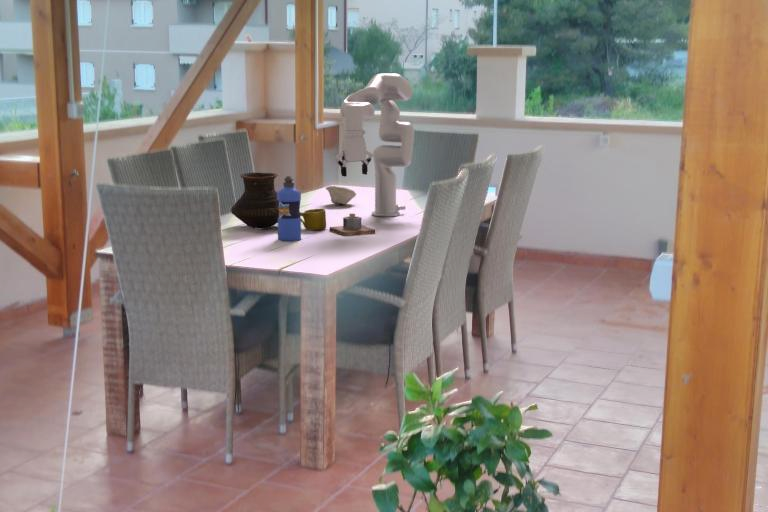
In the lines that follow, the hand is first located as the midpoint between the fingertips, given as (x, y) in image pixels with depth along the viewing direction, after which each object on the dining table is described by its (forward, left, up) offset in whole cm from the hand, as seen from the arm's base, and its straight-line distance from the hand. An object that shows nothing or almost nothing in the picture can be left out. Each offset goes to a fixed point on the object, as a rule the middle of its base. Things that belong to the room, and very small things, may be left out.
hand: (354, 175), depth 435 cm
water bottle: (+35, +13, -23) cm, 44 cm away
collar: (+5, +8, -21) cm, 23 cm away
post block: (+5, +9, -22) cm, 24 cm away
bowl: (-25, -61, -23) cm, 70 cm away
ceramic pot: (+34, -19, -23) cm, 46 cm away
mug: (+17, -5, -23) cm, 29 cm away
